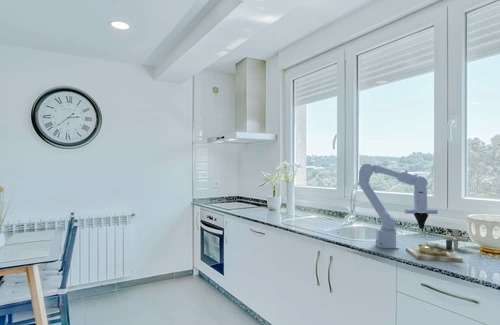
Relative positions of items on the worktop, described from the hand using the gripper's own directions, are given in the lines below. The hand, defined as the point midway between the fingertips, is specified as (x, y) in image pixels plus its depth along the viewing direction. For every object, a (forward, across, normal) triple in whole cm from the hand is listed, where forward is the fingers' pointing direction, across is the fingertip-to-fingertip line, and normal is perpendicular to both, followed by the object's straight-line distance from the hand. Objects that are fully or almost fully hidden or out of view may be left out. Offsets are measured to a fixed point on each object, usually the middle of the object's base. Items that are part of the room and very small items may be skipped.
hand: (421, 228), depth 155 cm
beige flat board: (+10, +1, -11) cm, 15 cm away
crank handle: (+9, +2, -13) cm, 16 cm away
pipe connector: (+11, +17, +5) cm, 21 cm away
